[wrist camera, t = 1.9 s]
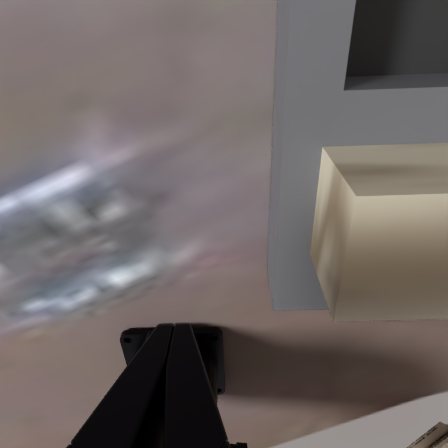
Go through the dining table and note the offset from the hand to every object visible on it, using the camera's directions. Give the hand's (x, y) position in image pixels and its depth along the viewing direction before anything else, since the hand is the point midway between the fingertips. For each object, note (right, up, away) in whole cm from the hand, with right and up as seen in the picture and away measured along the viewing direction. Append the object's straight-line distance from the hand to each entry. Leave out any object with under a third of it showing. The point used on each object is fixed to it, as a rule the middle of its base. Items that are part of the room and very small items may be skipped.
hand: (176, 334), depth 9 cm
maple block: (+8, +4, +5) cm, 10 cm away
